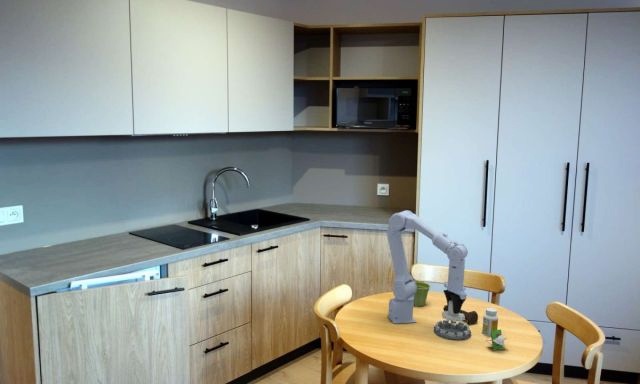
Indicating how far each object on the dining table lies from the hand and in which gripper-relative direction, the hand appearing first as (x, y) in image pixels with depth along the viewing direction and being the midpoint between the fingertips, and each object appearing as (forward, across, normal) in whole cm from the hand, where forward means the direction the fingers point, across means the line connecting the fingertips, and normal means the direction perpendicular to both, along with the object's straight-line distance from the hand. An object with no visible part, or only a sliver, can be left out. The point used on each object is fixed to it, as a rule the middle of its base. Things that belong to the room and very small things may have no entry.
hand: (453, 311), depth 201 cm
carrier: (+9, 0, 0) cm, 9 cm away
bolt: (+9, +14, -10) cm, 19 cm away
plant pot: (+9, +31, +1) cm, 32 cm away
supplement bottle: (+9, -3, -14) cm, 17 cm away
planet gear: (+3, 0, 0) cm, 3 cm away
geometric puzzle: (+9, -15, -10) cm, 20 cm away
